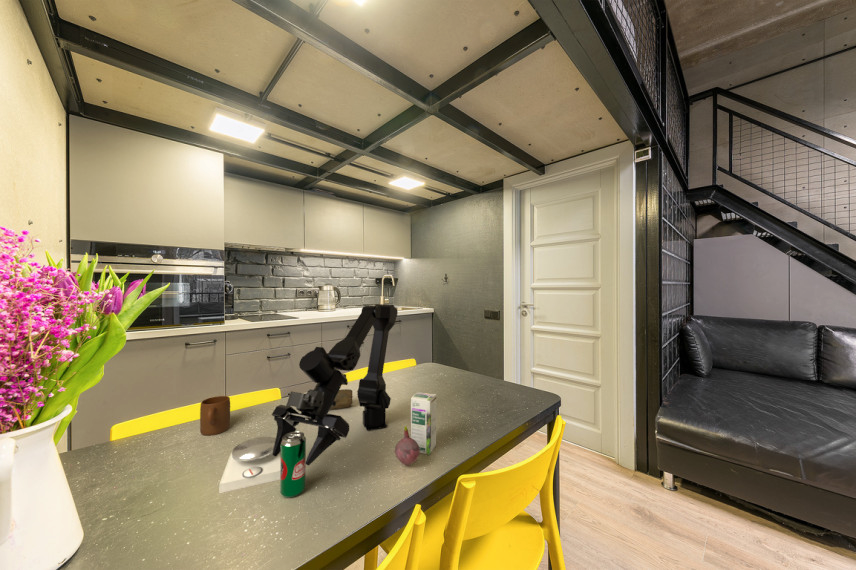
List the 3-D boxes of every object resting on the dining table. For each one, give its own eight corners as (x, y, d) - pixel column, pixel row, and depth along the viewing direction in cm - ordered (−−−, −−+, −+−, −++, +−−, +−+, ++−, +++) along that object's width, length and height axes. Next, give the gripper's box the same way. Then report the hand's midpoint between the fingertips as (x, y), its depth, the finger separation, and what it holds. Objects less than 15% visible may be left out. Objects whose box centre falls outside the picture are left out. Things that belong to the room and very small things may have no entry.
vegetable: (396, 458, 79) (396, 419, 79) (420, 459, 79) (420, 420, 79) (393, 472, 73) (393, 431, 73) (418, 473, 72) (418, 431, 73)
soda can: (296, 500, 63) (296, 442, 63) (274, 497, 64) (275, 440, 64) (310, 485, 68) (310, 431, 68) (290, 482, 69) (290, 429, 69)
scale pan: (279, 440, 82) (279, 433, 82) (277, 459, 73) (277, 452, 73) (235, 448, 78) (235, 441, 78) (228, 469, 69) (228, 461, 69)
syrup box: (409, 451, 82) (410, 397, 82) (418, 441, 88) (418, 390, 88) (429, 455, 80) (429, 400, 80) (436, 444, 86) (437, 393, 86)
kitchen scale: (283, 449, 83) (283, 440, 83) (281, 479, 70) (281, 469, 70) (231, 459, 78) (231, 450, 78) (219, 494, 65) (219, 482, 65)
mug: (225, 439, 88) (225, 407, 88) (193, 445, 85) (193, 411, 85) (231, 423, 99) (232, 394, 99) (203, 427, 96) (203, 397, 96)
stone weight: (351, 402, 117) (351, 385, 117) (353, 409, 110) (353, 391, 110) (309, 408, 112) (310, 389, 112) (309, 415, 105) (309, 396, 105)
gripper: (278, 371, 74) (234, 437, 63) (342, 380, 67) (304, 455, 57) (302, 393, 81) (266, 456, 71) (362, 403, 74) (332, 474, 64)
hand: (290, 460), depth 65 cm, fingers open, 9 cm apart
